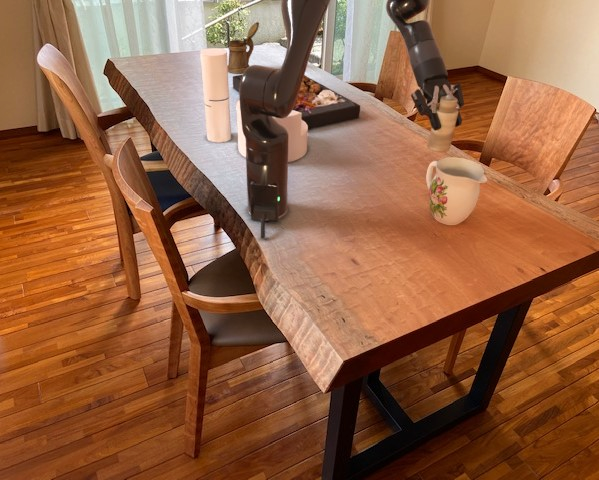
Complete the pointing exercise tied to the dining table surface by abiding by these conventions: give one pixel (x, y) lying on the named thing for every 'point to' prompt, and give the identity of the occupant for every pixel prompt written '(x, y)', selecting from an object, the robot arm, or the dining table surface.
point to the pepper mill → (444, 124)
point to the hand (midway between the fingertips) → (448, 127)
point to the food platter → (319, 104)
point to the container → (294, 128)
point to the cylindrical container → (216, 94)
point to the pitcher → (454, 188)
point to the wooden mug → (241, 52)
